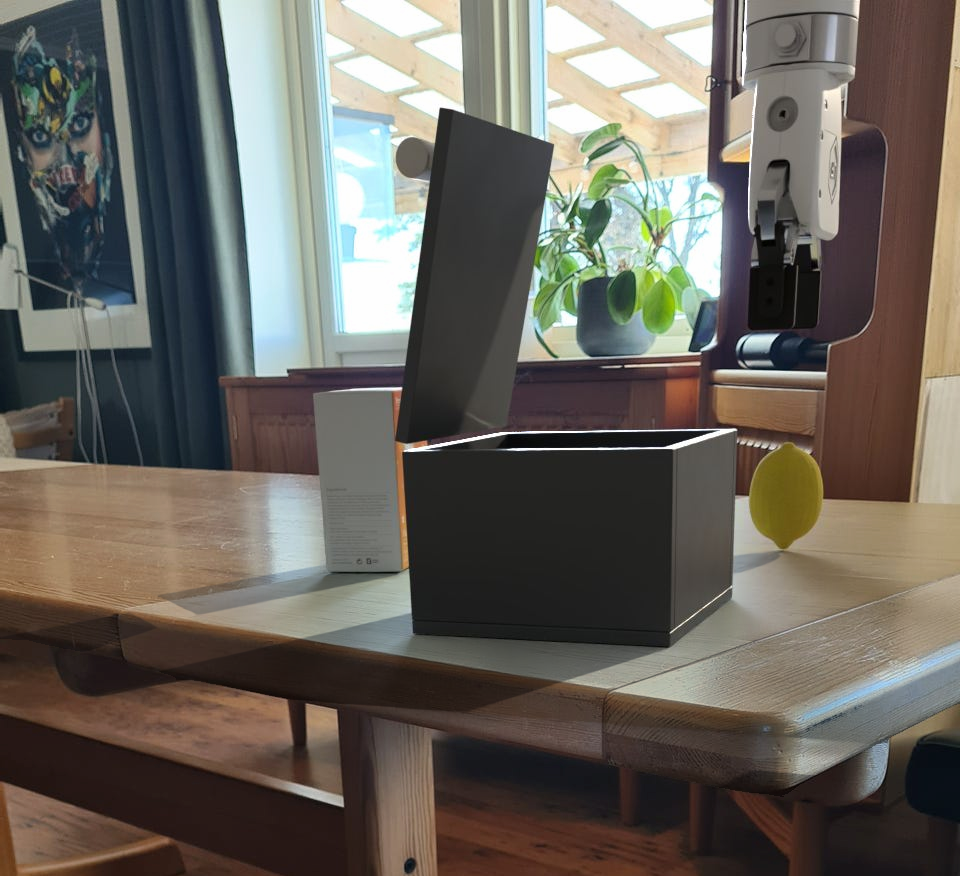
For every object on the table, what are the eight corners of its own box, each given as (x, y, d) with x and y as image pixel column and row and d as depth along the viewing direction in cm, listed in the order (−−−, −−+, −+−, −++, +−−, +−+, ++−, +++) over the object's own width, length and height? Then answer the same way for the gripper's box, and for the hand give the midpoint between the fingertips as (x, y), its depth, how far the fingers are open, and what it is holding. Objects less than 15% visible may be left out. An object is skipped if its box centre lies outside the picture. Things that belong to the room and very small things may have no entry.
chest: (732, 598, 82) (737, 428, 78) (670, 647, 69) (673, 448, 66) (506, 590, 88) (501, 432, 84) (412, 634, 75) (401, 451, 72)
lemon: (745, 555, 98) (749, 445, 95) (749, 544, 103) (752, 440, 100) (820, 554, 96) (826, 443, 94) (820, 544, 101) (826, 438, 99)
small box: (403, 573, 96) (392, 389, 91) (324, 573, 98) (309, 392, 93) (435, 556, 103) (426, 385, 99) (361, 556, 105) (349, 387, 100)
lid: (555, 144, 76) (473, 130, 78) (453, 109, 64) (359, 93, 66) (506, 426, 84) (433, 408, 85) (407, 444, 71) (323, 423, 73)
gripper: (835, 26, 79) (816, 328, 85) (872, 73, 93) (853, 327, 100) (714, 41, 81) (704, 331, 88) (769, 83, 96) (757, 330, 102)
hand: (784, 329), depth 94 cm, fingers open, 9 cm apart
